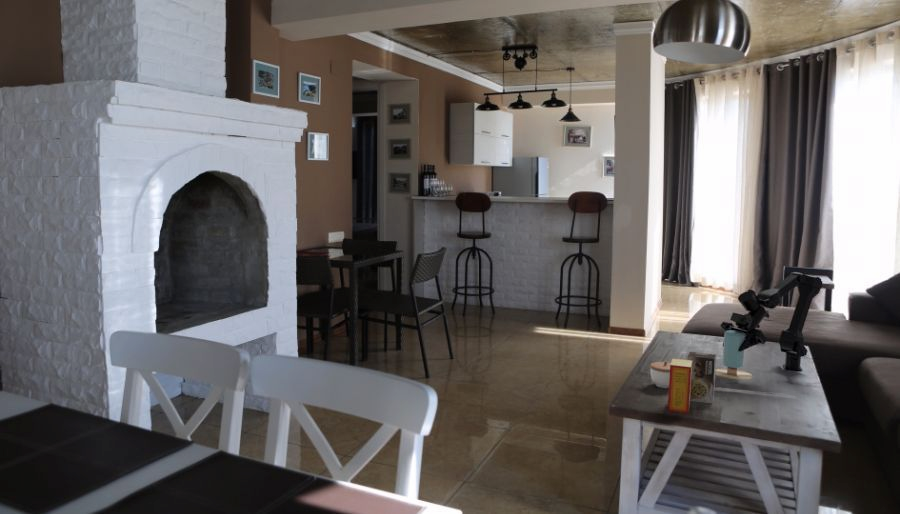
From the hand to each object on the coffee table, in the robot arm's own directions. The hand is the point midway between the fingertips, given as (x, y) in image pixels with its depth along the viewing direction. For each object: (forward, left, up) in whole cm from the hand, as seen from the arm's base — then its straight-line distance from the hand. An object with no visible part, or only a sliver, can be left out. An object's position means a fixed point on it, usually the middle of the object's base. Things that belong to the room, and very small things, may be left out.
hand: (731, 348), depth 271 cm
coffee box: (+34, -12, -12) cm, 38 cm away
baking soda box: (+46, -19, -12) cm, 51 cm away
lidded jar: (+21, -24, -12) cm, 34 cm away
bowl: (-1, +1, -10) cm, 10 cm away
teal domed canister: (-1, +1, -7) cm, 7 cm away
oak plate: (-1, +1, -11) cm, 12 cm away
